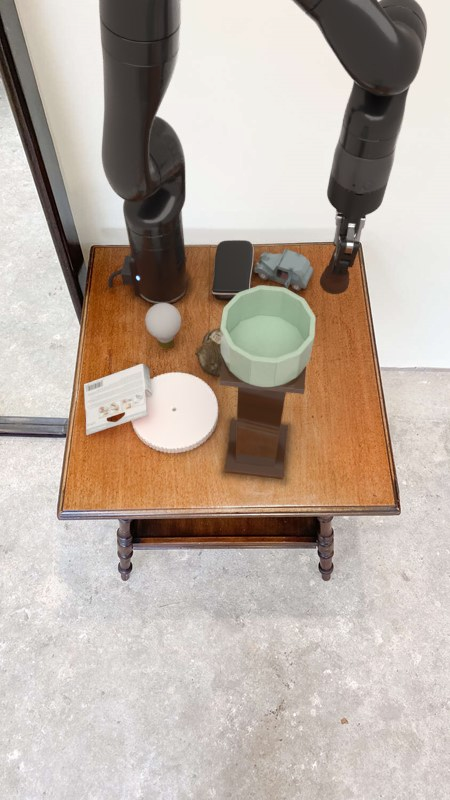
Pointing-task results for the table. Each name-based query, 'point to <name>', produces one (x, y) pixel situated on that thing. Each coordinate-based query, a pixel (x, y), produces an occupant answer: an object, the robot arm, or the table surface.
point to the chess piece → (334, 279)
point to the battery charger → (232, 268)
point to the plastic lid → (177, 413)
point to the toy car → (285, 269)
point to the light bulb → (163, 323)
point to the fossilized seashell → (211, 353)
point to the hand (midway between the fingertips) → (339, 258)
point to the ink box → (117, 398)
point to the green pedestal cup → (263, 373)
